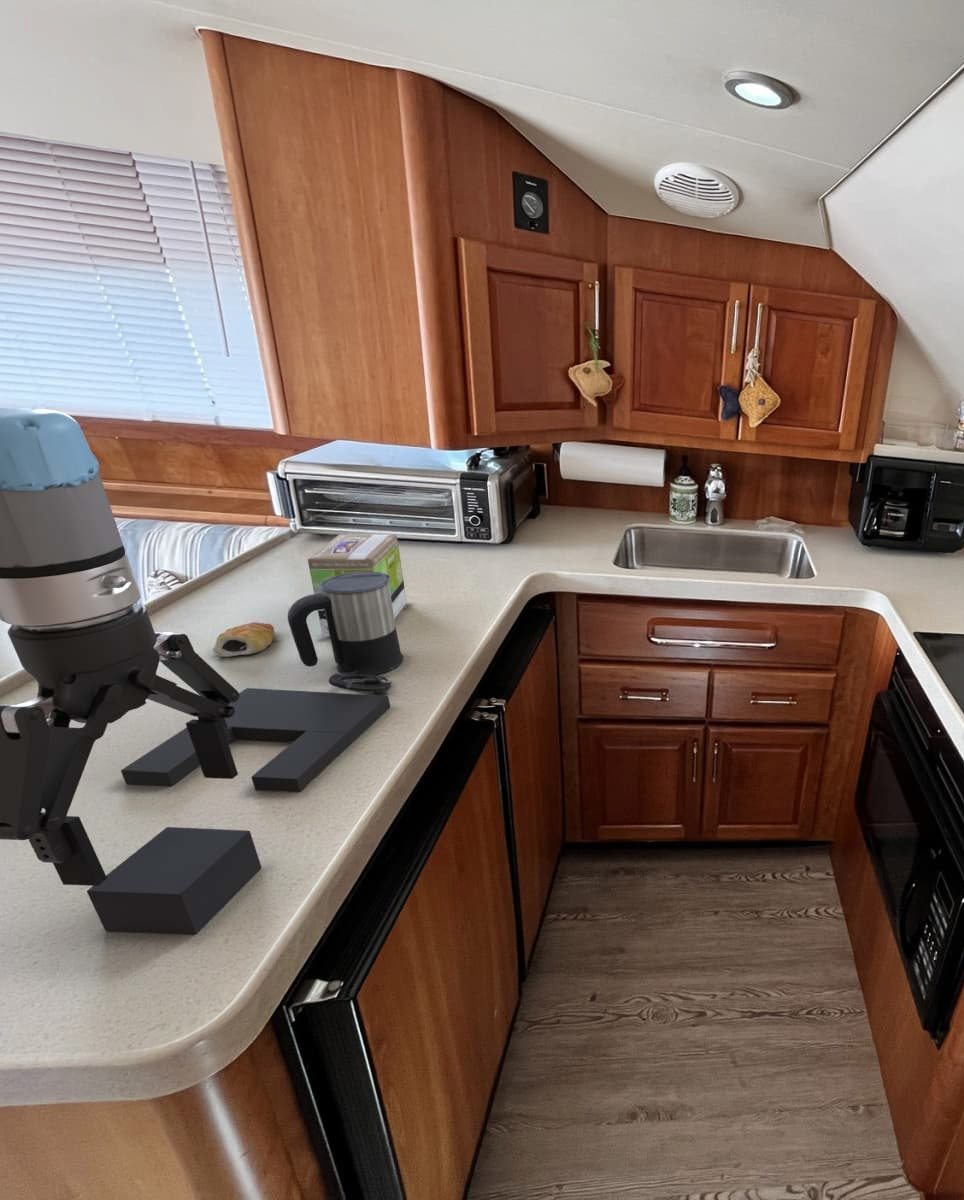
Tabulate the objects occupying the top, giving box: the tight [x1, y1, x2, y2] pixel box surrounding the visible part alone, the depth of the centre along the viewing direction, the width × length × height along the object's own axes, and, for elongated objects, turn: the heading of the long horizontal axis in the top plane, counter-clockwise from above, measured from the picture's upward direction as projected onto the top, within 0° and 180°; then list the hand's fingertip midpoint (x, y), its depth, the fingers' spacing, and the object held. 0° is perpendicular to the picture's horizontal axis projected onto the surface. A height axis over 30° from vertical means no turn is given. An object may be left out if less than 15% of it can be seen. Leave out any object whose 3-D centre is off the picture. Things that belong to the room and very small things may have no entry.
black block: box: [86, 826, 263, 935], centre depth 61 cm, size 8×8×5 cm
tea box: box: [307, 533, 407, 637], centre depth 116 cm, size 15×10×15 cm, turn 17°
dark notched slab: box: [120, 687, 391, 793], centre depth 84 cm, size 20×19×2 cm
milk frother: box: [287, 571, 405, 695], centre depth 98 cm, size 14×16×15 cm
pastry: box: [212, 621, 276, 658], centre depth 106 cm, size 9×7×4 cm
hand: (161, 823), depth 58 cm, fingers open, 13 cm apart
